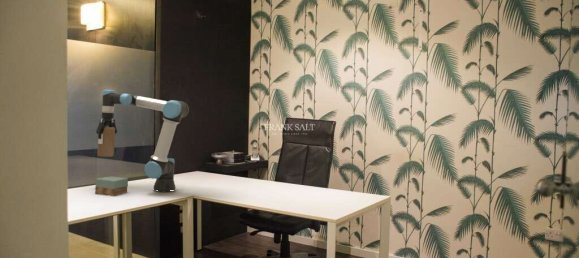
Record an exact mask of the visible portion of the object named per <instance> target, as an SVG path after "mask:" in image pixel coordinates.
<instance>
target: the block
mask: <svg viewBox="0 0 579 258" xmlns="http://www.w3.org/2000/svg"><path fill="white" fill-rule="evenodd" d="M102 134H103V144H98V143H97V157H104V158H107V157H109V158H110V157H111V158H112V157H113V156H114V154H115V143H116V142H115V138H116V134H115V127H109V126H107V127H105V128H104V131H103V133H102Z"/></svg>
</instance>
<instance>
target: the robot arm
mask: <svg viewBox="0 0 579 258" xmlns="http://www.w3.org/2000/svg"><path fill="white" fill-rule="evenodd" d="M102 91H103V92H102V101H101V102H102V103H101V104H102V105H101V107H102V108H101V118H102V119H99V122H98V126H97V129H96V131H95V132H96V134H97V135H98V138H97V145H98V144H103V134H102V133H103V131H104V128H105V127H115V135H116V134H117V133H118V130H117V125H116V120H115V119H114V112H115V105H123V106H134V107H138V108H139V107H140V108H144V109H148V110H149V109H150V110H154V111H159V112H162V114H163V115H162V120H163V123H162V126H161V129H160V134H159V137H158V141H157V143H156V147H155V150H154V153H153V155H151V156H150V158H149V161H148V162H147V163H146V164H145V165H144V173H145V175H146V176H147V177H148V178H149V179H152V180H153V179H155V182H154V185H153V187H152V188H153V189H154V190H158V191H170V190H175V189H176V188H177V187H176V184H175V180H174V177H175V165H176V164H175V163H176V162H175V158H172V157H171V158H169V157H168V155H169V151H170V148H171V145H172V142H173V138H174V135H175V132H176V128H177V125H178V124H180V123H181V121H182V119H183V118H185V117H187V116H188V114H189V112H190V110H189V109H190V108H189V105H188V104H187V103H186V102H184V101H182V100H176V99H175V100H174V99H171V100H168V101H167V100H163V99H158V98H157V99H156V98H152V97H148V96H147V97H146V96H142V95H137V94H130V93H121V92H120V93H117V92H116V91H115V90H113V89H104V90H102ZM154 190H153V191H154ZM175 191H176V190H175Z"/></svg>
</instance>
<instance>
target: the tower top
mask: <svg viewBox="0 0 579 258" xmlns="http://www.w3.org/2000/svg"><path fill="white" fill-rule="evenodd" d="M94 185H95V187H102V188H110V189H116V188H120V187H125V186H127V187H128V186H129V178H128V177H122V176H121V177H119V176H111V175H110V176H105V177H97V178H95V184H94Z"/></svg>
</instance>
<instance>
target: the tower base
mask: <svg viewBox="0 0 579 258" xmlns="http://www.w3.org/2000/svg"><path fill="white" fill-rule="evenodd" d="M94 190H95V191H94V194H95V195H102V196H108V195H110V196H111V197H117V196H119V195H123V193H124V194H126V192H127V193H128V186H125V187H120V188H116V189H110V188H102V187H95V188H94Z"/></svg>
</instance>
